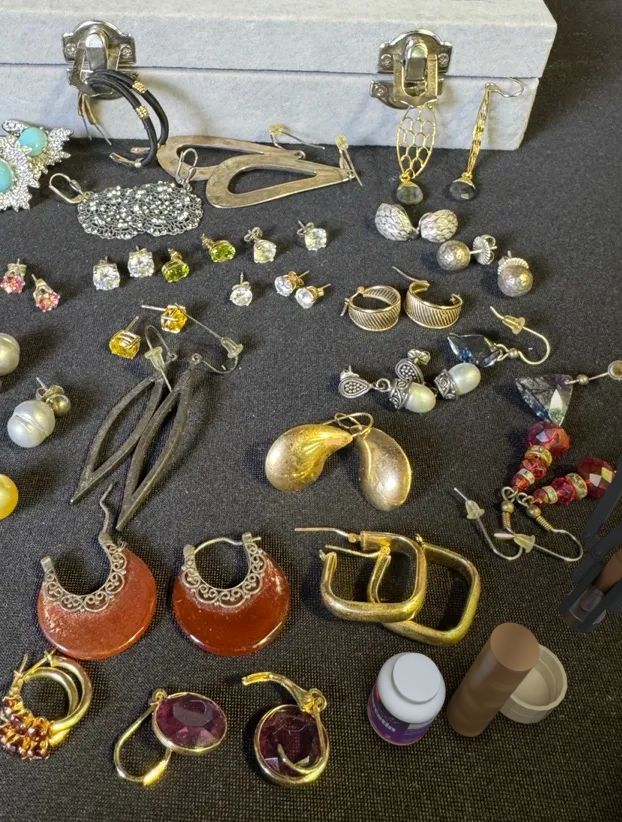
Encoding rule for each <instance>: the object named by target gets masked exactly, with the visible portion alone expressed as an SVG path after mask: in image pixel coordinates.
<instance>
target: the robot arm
mask: <svg viewBox="0 0 622 822" xmlns="http://www.w3.org/2000/svg"><path fill="white" fill-rule="evenodd" d="M603 493H604V494H603V495H602V497H601V498H600V500H599V501H598V503H597V505H596V507H595V508H594V510H593V511H592V513H591V515H590V516H589V518H588V520H587V521H586V523H585V525H584V526H583V528H582V529H581V532H580V534H579V537H580V539H581V540H582V541H583V542H584V543H585V545H586V547H587V549H588V553H587V555H586V556H585V557H584V558H583V559H582V560H581V562H580V563H579V564H578V565H577V566H576V568H575V569H574V570H573V571H572V572H571V576H570V578H571V579H572V580H573V581H574V582H575V583H576V584H577V585H576V586H575V587H574V588H573V589H572V590H573V591H572V590H571V591H572V592H571V591H570V592H571V593H570V592H569V593H570V594H569V593H568V594H569V595H568V594H567V596H568V597H567V596H566V597H567V598H566V597H565V598H566V599H565V598H564V600H563V601H562V602H561V603H560V604H559V605H558V606H557V608H556V611H557V612H558V613H560V615H561V614H562V615H563V614H564V613H565V612H567V611H568V610H569V609H570V608H571V606H572V605H573V604H574V603H575V602H576V601H577V600H578V599H579V597H580V596H581V595H582V594H583V593H584V592H585V591H586V589H588V587H589V586H590V585H591V584H592V583H593V581H594V580H595V579H596V577H597V576H598V575H599V574H600V572H601V571H602V570H603V568H604V567H605V566H606V564H607V563H608V562H606V561H605V560H604V558H605V557H606V556H607V555H608V554H609V553H610V552H611V551H613V550H614V549H615V548H616V547H617V546H618V545H619V544H621V542H622V520H621V521H620V522H619V523H618V524H617V525H616V526H614V528H613V529H612V530H611V531H610V532H608V533H607V534H606V536H605V537H603V538H602V539H601V538H600V536H599V533H600V532H601V530H602V528H603V527H604V526H605V523H606V522H607V520H608V518H609V517H610V516H611V514H612V512H613V511H614V509H615V507H616V506H617V504H618V502H619V501H620V499H621V498H622V453H620V454H619V456H618V458H617V465H616V470H615V475H614V477H613V478H612V480H611V481H610V483H609V485H608V486H607V488H606V490H605V492H603ZM605 609H606V610H608V611H609V612H611V614H612V615H614V616H616V615H618V614H620V613H622V578H621V580H619V581H618V582H617V583H616V584H615V586H614V587H613V588H612V589H611V590H610V591H609V592H608V593H607V595H606V596H605V597H604V598H603V599H602V600H601V601H600V602H599V604H598V605H597V606H596V607H595V608H594V609H593V610H592V611H591V613H590V614H589V615H588V616H587V617H586V618H585V619H584V620H583V621H582V623H581V624H580V625H579V626H578V627H577V628H578V629H579V630H580V631H581V632H580V633H582V634H585V633H586V632H585V631H586V630H587V629H588V628H589V627H590V626H591V625H592V624H593V623H594V622H595V620H596V619H597V618H598V617H599V616H600V615H601V614H602V613H603V611H604V610H605ZM584 632H585V633H584Z"/></svg>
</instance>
